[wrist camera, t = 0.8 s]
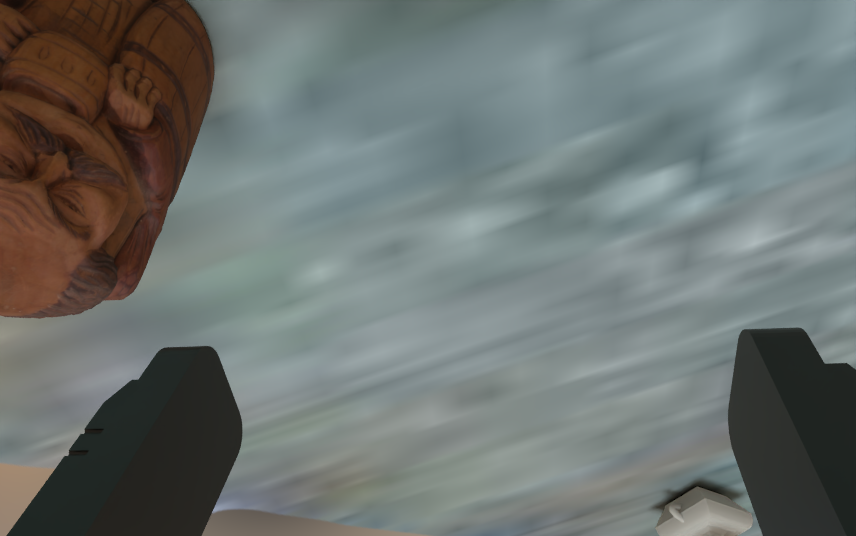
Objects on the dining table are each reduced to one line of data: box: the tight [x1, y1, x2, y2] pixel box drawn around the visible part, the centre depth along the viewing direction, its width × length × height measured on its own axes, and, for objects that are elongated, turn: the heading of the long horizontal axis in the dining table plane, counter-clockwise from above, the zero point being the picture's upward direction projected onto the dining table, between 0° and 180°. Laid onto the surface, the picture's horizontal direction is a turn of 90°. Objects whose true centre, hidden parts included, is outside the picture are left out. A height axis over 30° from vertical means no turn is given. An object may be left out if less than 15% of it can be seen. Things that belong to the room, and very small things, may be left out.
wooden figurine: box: [0, 0, 214, 318], centre depth 27 cm, size 12×6×18 cm, turn 43°
